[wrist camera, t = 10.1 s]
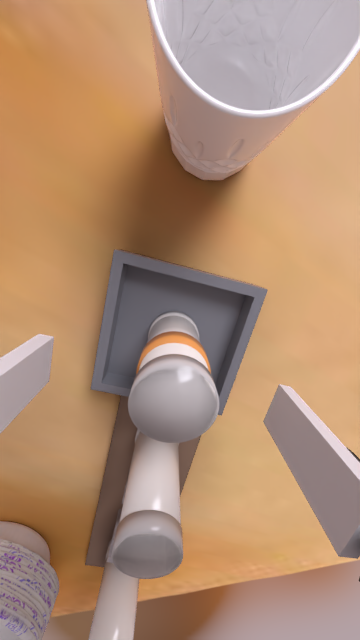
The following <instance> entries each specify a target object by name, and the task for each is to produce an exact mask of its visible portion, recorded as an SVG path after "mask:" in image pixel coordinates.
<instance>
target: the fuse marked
mask: <svg viewBox="0 0 360 640" xmlns="http://www.w3.org/2000/svg"><path fill="white" fill-rule="evenodd" d="M128 410H129V415H130V418H131V420H132V422H133V423H134V425H135V426H136V427H137V428H138V429H139V430H140V431H141V432H142V433H143V434H145V435H146V436H148V437H150V438H152V439H154V440H157V441H161V442H166V443H181V442H186V441H189V440H192V439H194V438H197V437H198V436H200V435H202V434H203V433H204V432H206V431H207V430H208V429H209V428H210V427H211V425H212V424H213V423H214V421H215V419H216V417H217V415H218V411H219V396H218V393H217V390H216V386H215V383H214V380H213V377H212V375H211V369H210V365H209V361H208V358H207V355H206V352H205V350H204V348H203V346H202V345H201V343H200V340H199V332H198V329H197V326H196V324H195V322H194V321H193V319H192V318H191V317H190V316H188V315H187V314H185V313H183V312H180V311H168V312H164V313H162V314H160V315H159V316H158V317H156V318H155V320H154V321H153V322H152V324H151V327H150V330H149V333H148V341H147V344H146V345H145V347H144V348H143V351H142V353H141V356H140V360H139V363H138V366H137V371H136V377H135V379H134V382H133V385H132V388H131V392H130V395H129V399H128Z"/></svg>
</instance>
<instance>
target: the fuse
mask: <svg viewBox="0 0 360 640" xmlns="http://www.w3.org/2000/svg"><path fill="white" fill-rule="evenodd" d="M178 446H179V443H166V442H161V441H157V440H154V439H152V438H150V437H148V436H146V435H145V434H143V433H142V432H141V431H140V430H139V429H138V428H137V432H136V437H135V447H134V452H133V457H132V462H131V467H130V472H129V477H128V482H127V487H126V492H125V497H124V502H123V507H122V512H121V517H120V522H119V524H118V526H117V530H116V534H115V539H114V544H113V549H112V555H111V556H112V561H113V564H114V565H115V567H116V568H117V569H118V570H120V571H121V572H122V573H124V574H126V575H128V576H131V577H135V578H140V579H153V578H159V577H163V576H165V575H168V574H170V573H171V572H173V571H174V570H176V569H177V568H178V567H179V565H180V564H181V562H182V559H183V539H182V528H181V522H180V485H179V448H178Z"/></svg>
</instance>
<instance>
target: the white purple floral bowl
mask: <svg viewBox="0 0 360 640" xmlns="http://www.w3.org/2000/svg"><path fill="white" fill-rule="evenodd" d="M58 592H59V580H58V577H57V574H56V572H55V570H54V568H53V567H52V566H51V565H50V551H49V548H48V545H47V543H46V542H45V540H44V539H43V538H42V536H41V535H40V534H38V533H37V532H36V531H34V530H33V529H31V528H29V527H27V526H24V525H22V524H18V523H14V522H5V521H0V640H41V639H42V637H43V634H44V632H45V629H46V627H47V624H48V622H49V618H50V615H51V612H52V610H53V607H54V604H55V600H56V597H57V595H58Z"/></svg>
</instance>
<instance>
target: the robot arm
mask: <svg viewBox="0 0 360 640" xmlns="http://www.w3.org/2000/svg"><path fill="white" fill-rule="evenodd" d="M53 341H54V337H52V336H48V335H43V334H38V335H36V336H35V337H33V338H31V339H30V340H28V341H27V342H25V343H23V344H22V345H20V346H19V347H17V348H15V349H14V350H12V351H11V352H9V353H7V354H6V355H4V356H3V357H1V358H0V433H1V432H2V431H3V430H4V429H5V428H6V427H7V426H8V425H9V424H10V423H11V422H12V420H13V419H14V418H15V417H16V416H17V415H18V414H19V413H20V412H21V411H22V410H23V409H24V408H25V406H26V405H27V404H28V403H29V402H30V401H31V400H32V399H33V398H34V397H35V396H36V395H37V394H38V393H39V391H40V390H41V389H42V388H43V387H44V386H45V385H46V384H47V383H48V382H49V377H50V368H51V359H52V350H53ZM263 422H264V424H265V426H266V427H267V429H268V431H269V433H270V435H271V436H272V438H273V440H274V442H275V443H276V445H277V447H278V449H279V451H280V452H281V454H282V456H283V458H284V460H285V461H286V463H287V465H288V467H289V469H290V470H291V472H292V474H293V476H294V477H295V479H296V481H297V483H298V485H299V486H300V488H301V490H302V492H303V494H304V495H305V497H306V499H307V501H308V503H309V504H310V506H311V508H312V510H313V511H314V513H315V515H316V517H317V519H318V520H319V522H320V524H321V526H322V528H323V529H324V531H325V533H326V535H327V536H328V538H329V540H330V542H331V544H332V545H333V547H334V549H335V551H336V553H337V554H338V556H340V557H349V558H357V559H358V557H359V556H360V459H359V458H358V457H357V456H356V455H355V454H354V453H353V452H352V451H350V450H349V449H348V448H347V447H345V446H344V445H343V444H342V443H341V441H340V440H339V439H338V438H337V437H336V436H335V435H334V434H333V433H332V432H331V430H330V429H329V428H328V427H327V426H326V425H325V424H324V423H323V422H322V421H321V419H320V418H319V417H318V416H317V415H316V414H315V413H314V412H313V411H312V410H311V408H310V407H309V406H308V405H307V404H306V403H305V402H304V401H303V400H302V399H301V397H300V396H299V395H298V394H297V393H296V392H295V391H294V390H293V389H292V388H291V387H289V386H285V385H280V384H279V386H278V388H277V391H276V393H275V395H274V398H273V400H272V402H271V405H270V407H269V409H268V412H267V414H266V416H265V419H264V421H263ZM359 581H360V578H359Z"/></svg>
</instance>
